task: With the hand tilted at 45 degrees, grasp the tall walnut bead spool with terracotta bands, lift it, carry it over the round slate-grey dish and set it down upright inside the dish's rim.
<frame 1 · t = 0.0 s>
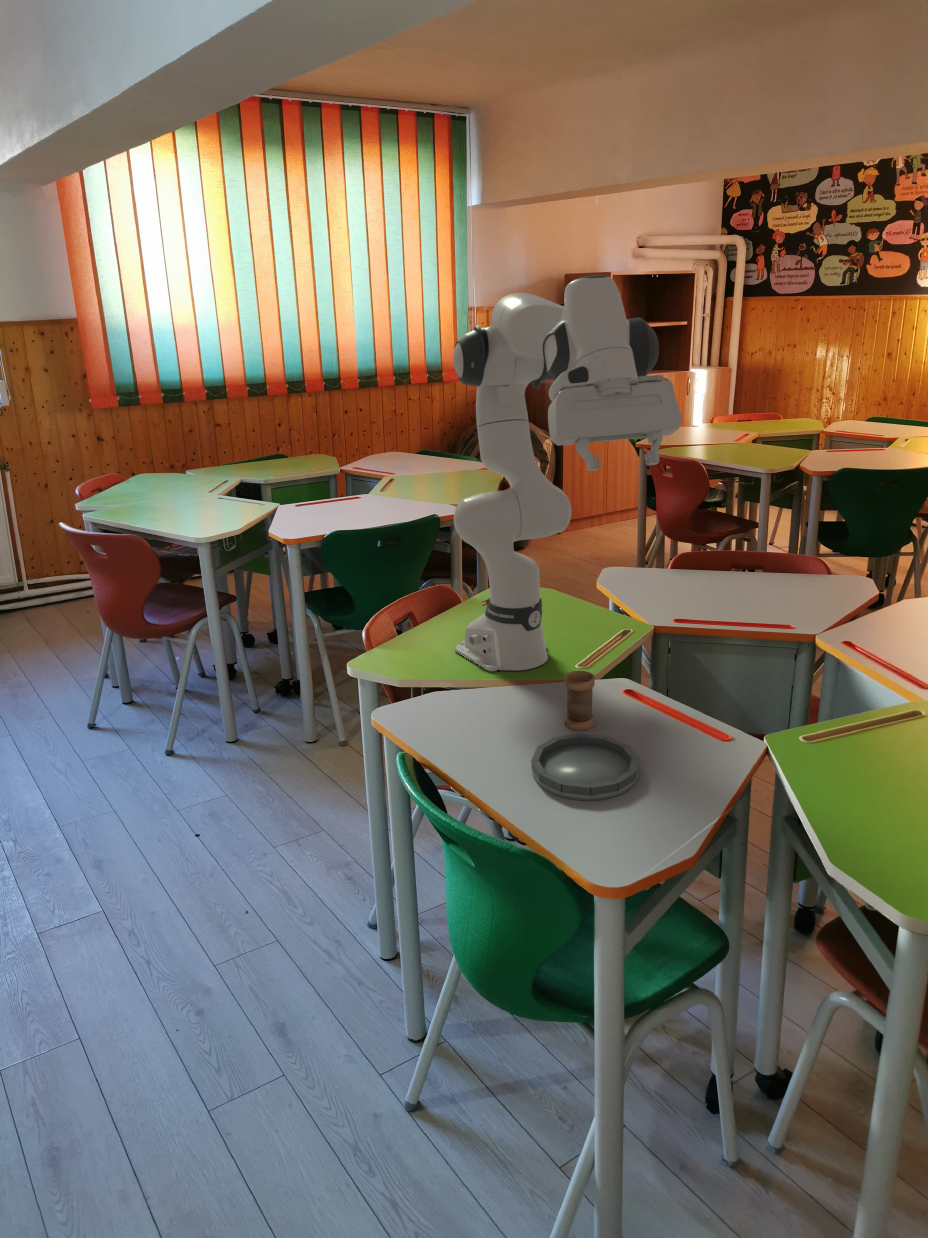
hand: (623, 466, 132), 54 cm above the table, tool tilted 30°, fingers open, 8 cm apart
round dish: (584, 771, 155), on the table
bead spool: (579, 723, 171), on the table
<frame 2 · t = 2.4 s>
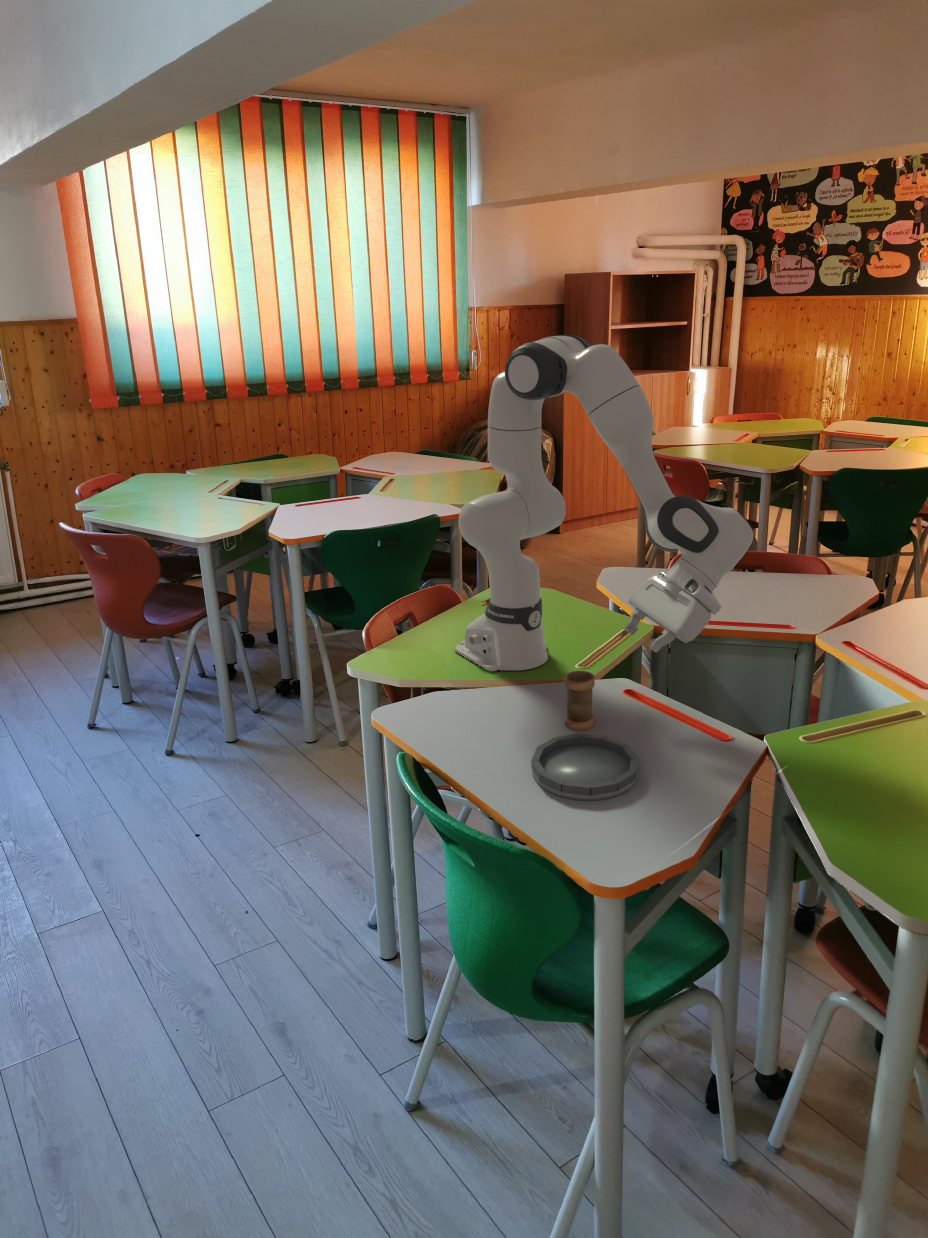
hand: (639, 640, 169), 15 cm above the table, tool tilted 45°, fingers open, 8 cm apart
nothing on the table moved.
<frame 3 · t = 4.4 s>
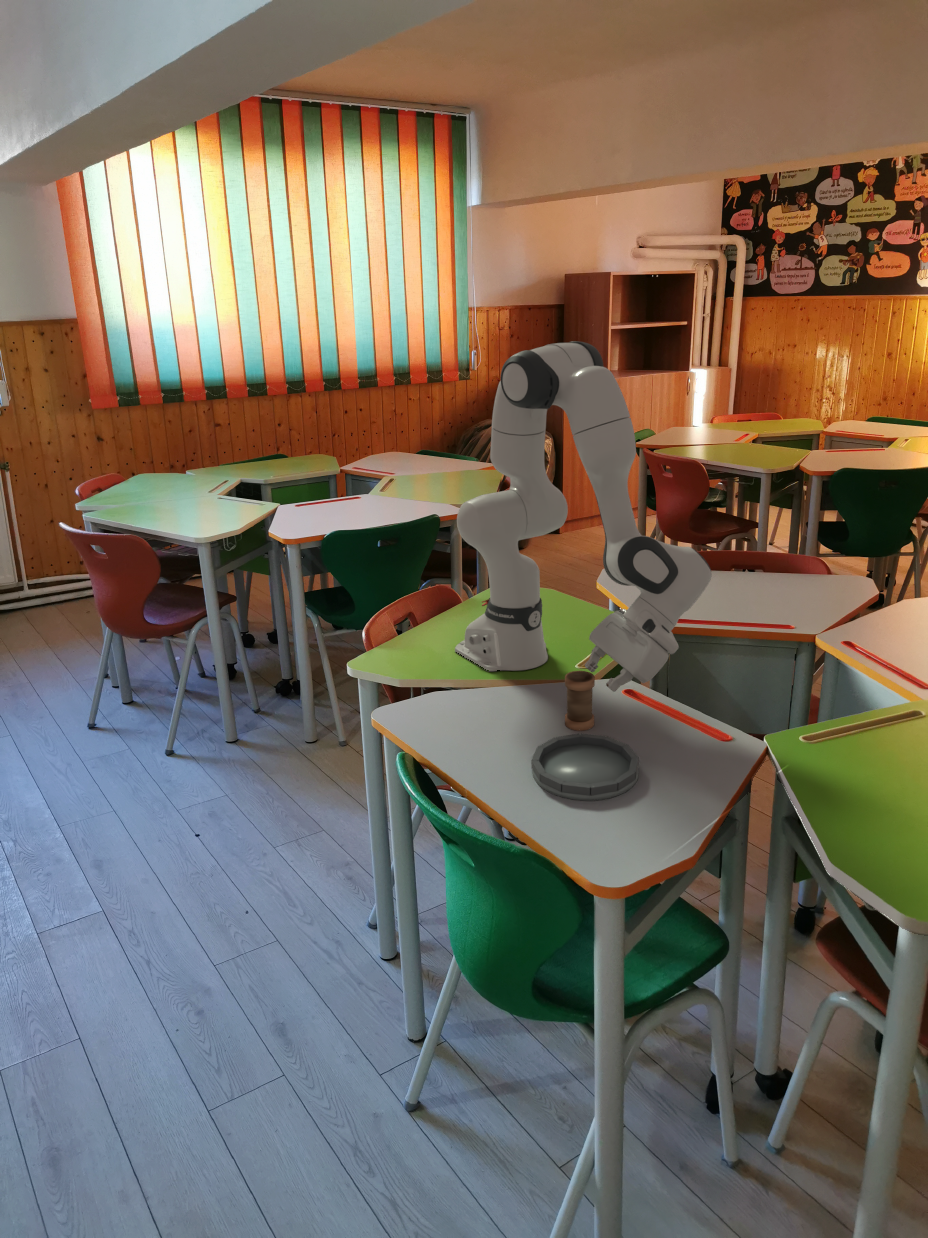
hand: (598, 678, 169), 9 cm above the table, tool tilted 45°, fingers open, 8 cm apart
nothing on the table moved.
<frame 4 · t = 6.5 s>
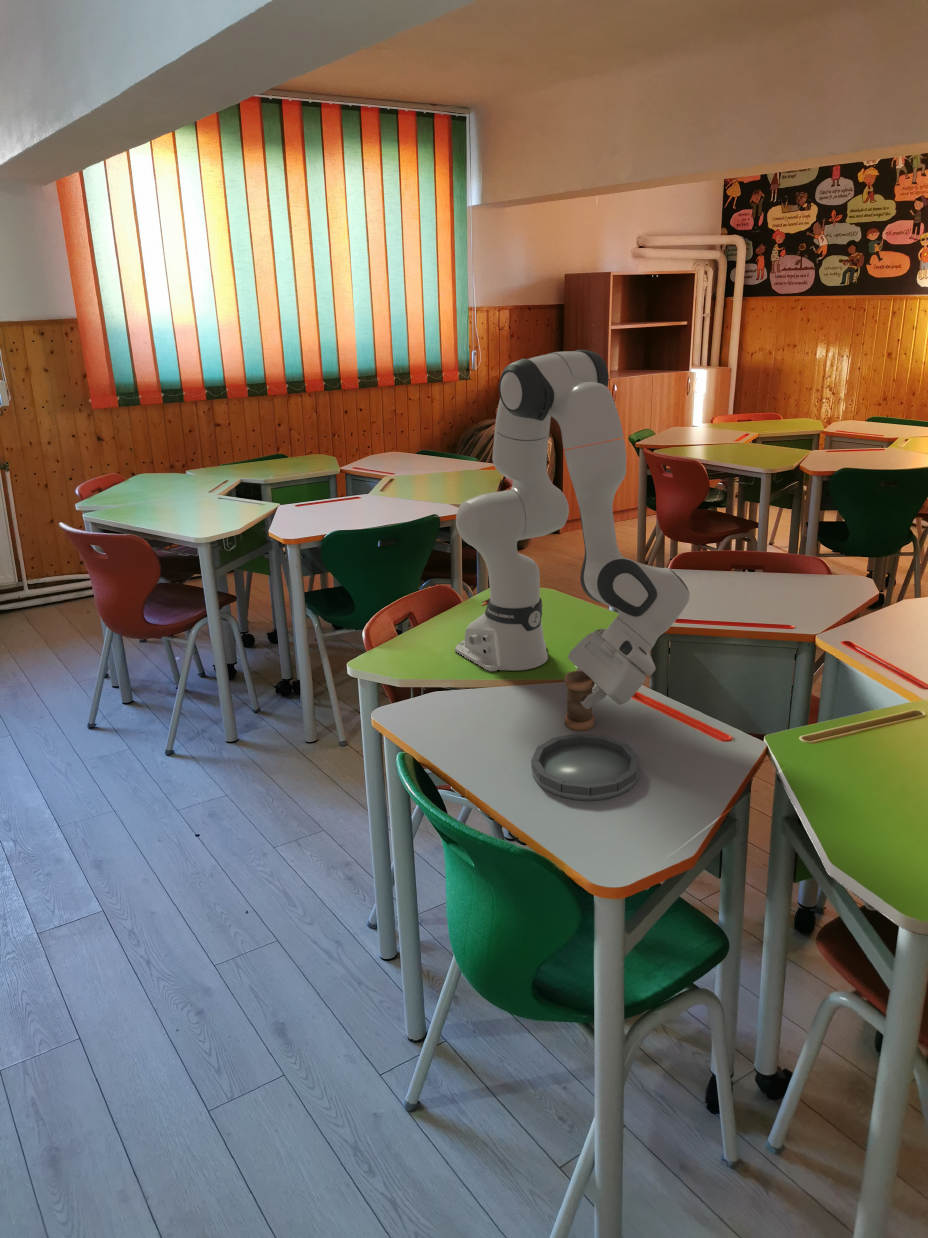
hand: (576, 699, 169), 5 cm above the table, tool tilted 45°, fingers closed on bead spool, 5 cm apart
bead spool: (579, 723, 171), on the table, touching gripper
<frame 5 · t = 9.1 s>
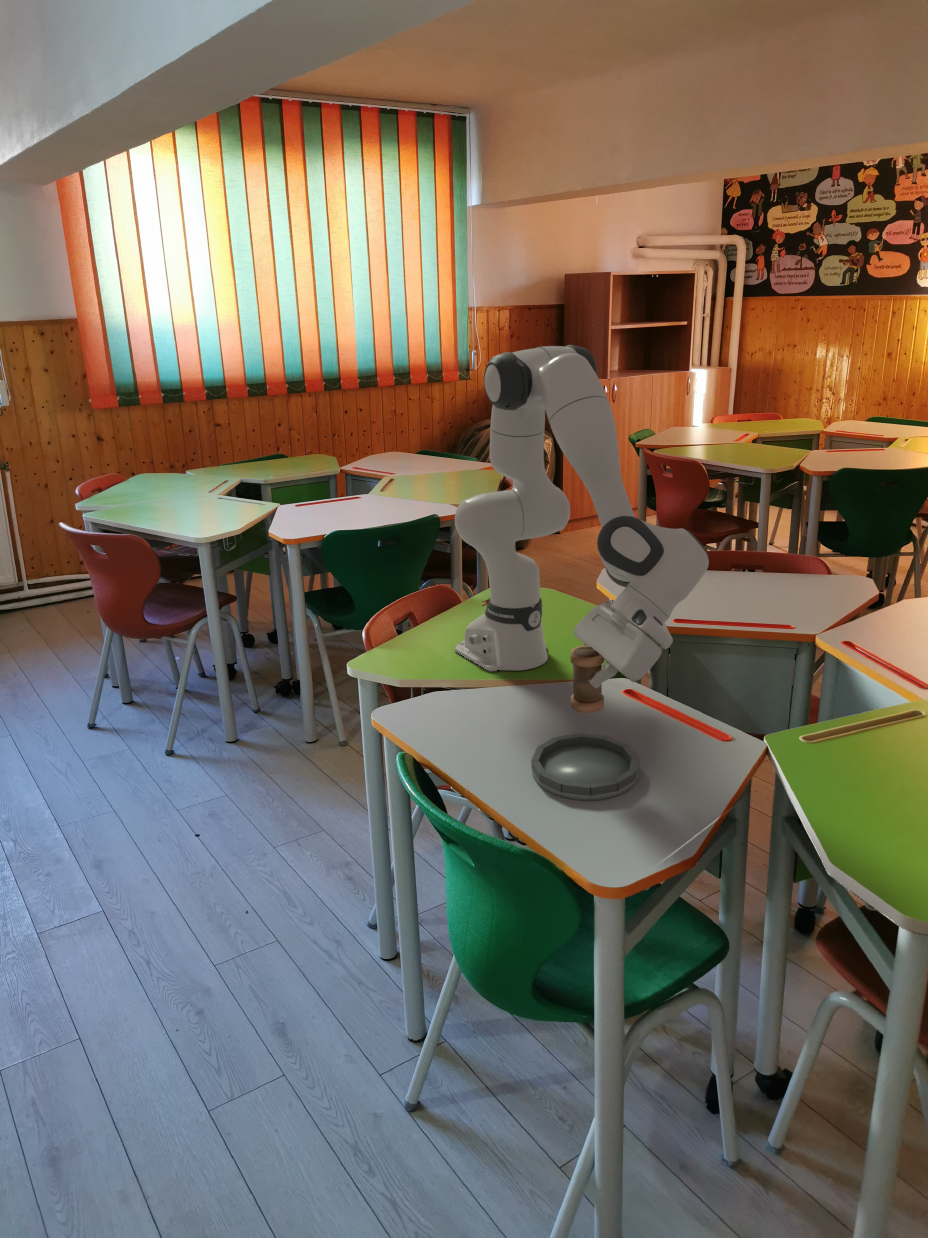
hand: (583, 677, 150), 17 cm above the table, tool tilted 45°, fingers closed on bead spool, 5 cm apart
bead spool: (587, 705, 152), point 12 cm above the table, touching gripper
when the fingers open (8 cm above the table, at t = 11.8 s): bead spool drops 1 cm, resting on round dish.
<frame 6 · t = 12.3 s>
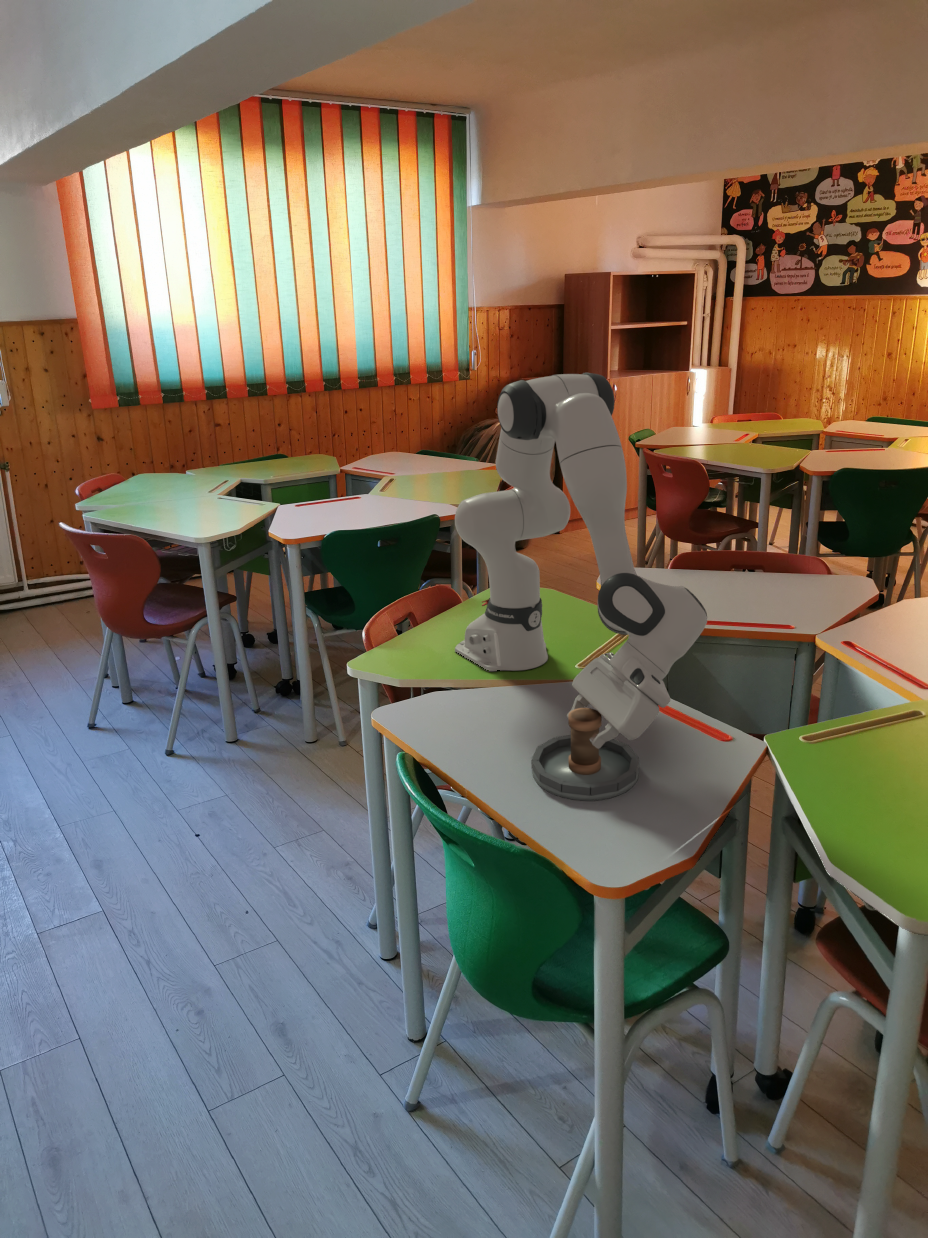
hand: (581, 732, 152), 8 cm above the table, tool tilted 45°, fingers open, 8 cm apart
bead spool: (584, 766, 155), point 1 cm above the table, touching round dish
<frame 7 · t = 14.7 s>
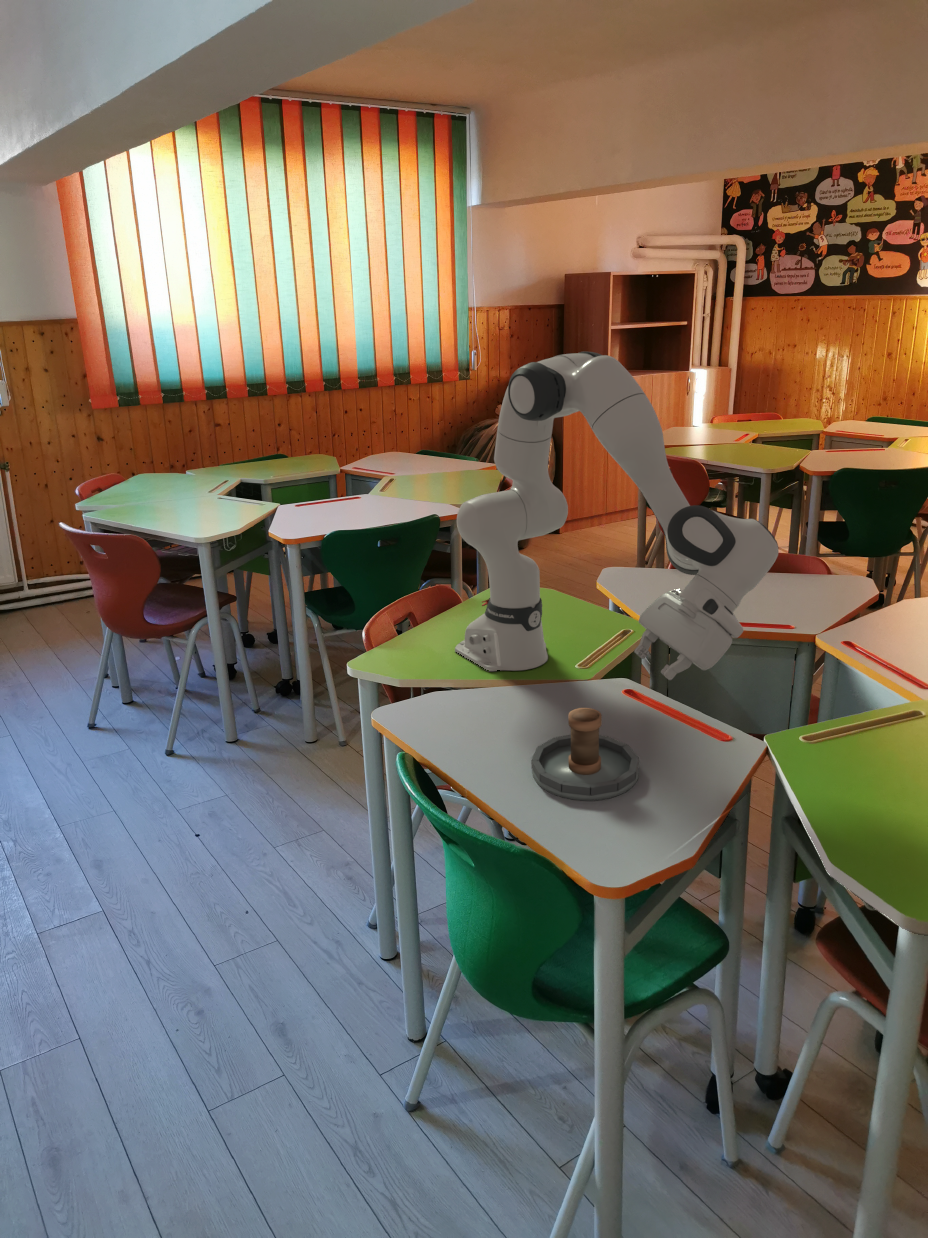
hand: (651, 665, 152), 18 cm above the table, tool tilted 45°, fingers open, 8 cm apart
nothing on the table moved.
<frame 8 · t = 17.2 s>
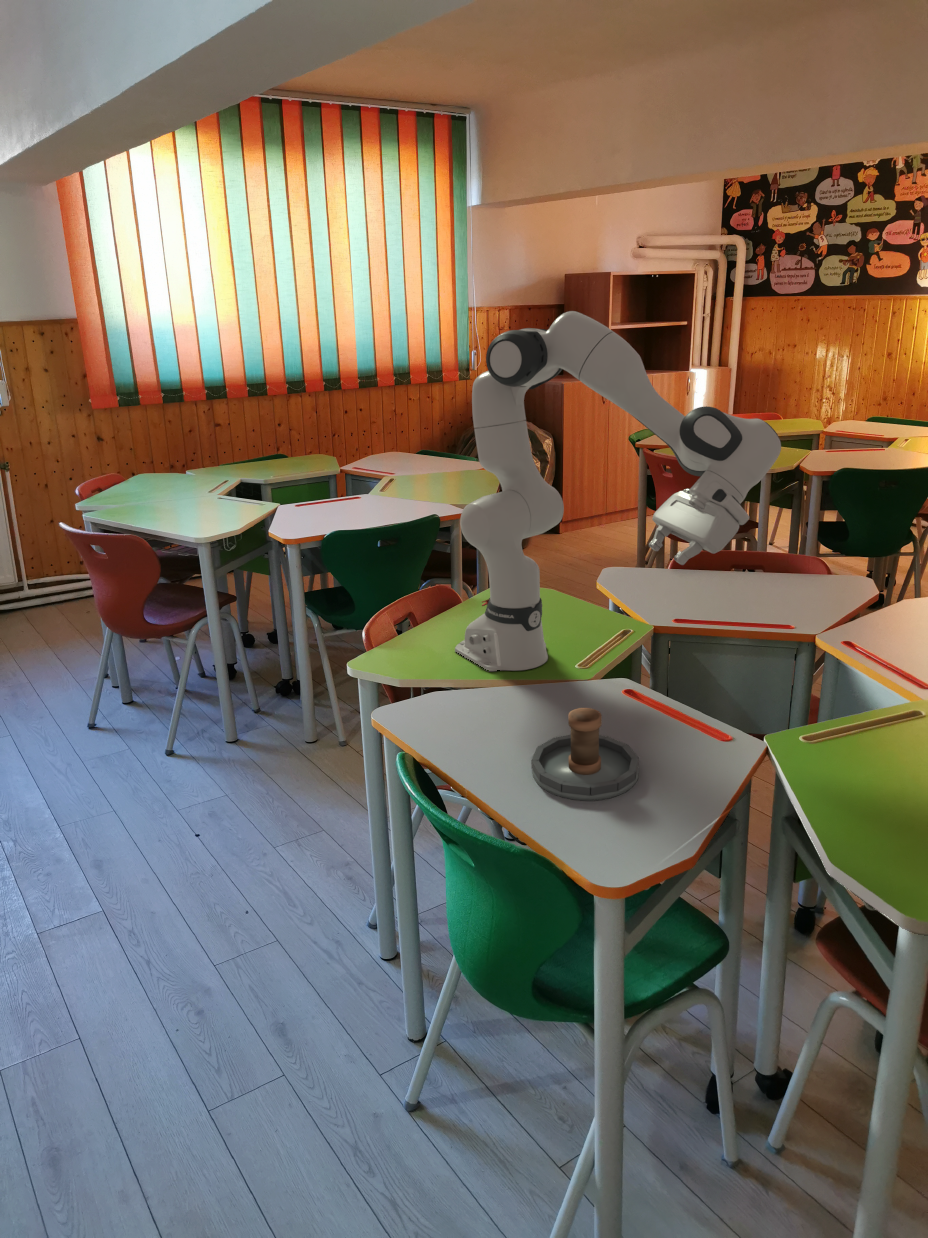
hand: (664, 555, 166), 31 cm above the table, tool tilted 45°, fingers open, 8 cm apart
nothing on the table moved.
at the end: bead spool inside the target area on the round dish (0.1 cm from its centre), point 1.0 cm above the round dish's base; bead spool tilted 0°; the gripper is holding nothing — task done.
